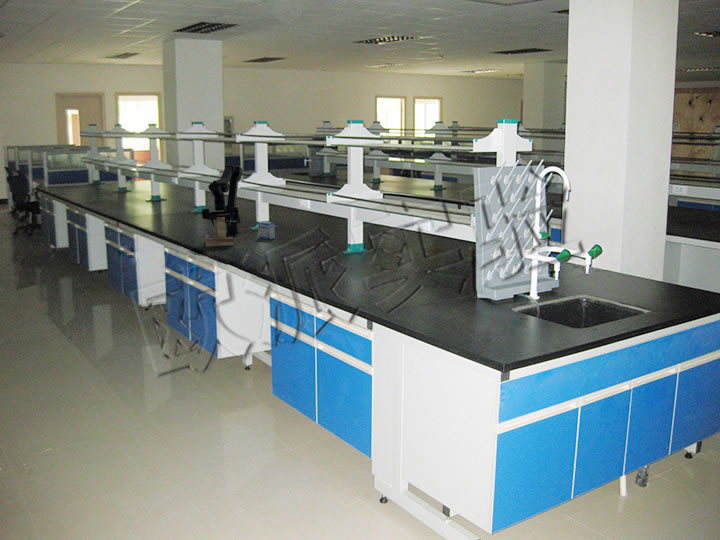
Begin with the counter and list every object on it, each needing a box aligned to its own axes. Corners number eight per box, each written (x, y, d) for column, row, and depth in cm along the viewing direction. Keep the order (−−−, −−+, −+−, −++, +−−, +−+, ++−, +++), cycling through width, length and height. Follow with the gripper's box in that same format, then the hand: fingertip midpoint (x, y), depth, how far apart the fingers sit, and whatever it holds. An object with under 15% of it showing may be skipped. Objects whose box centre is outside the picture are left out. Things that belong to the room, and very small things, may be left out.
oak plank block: (218, 240, 362) (216, 217, 359) (226, 240, 362) (224, 217, 360) (218, 241, 358) (216, 218, 355) (226, 241, 359) (224, 218, 356)
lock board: (206, 241, 367) (205, 235, 366) (232, 240, 370) (232, 233, 369) (205, 246, 354) (205, 239, 353) (233, 244, 356) (233, 238, 356)
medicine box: (258, 238, 373) (257, 222, 371) (263, 237, 376) (262, 221, 374) (270, 239, 369) (269, 223, 367) (275, 238, 373) (274, 222, 371)
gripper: (237, 210, 374) (239, 233, 366) (202, 212, 370) (203, 236, 362) (237, 197, 364) (239, 221, 356) (201, 199, 361) (202, 223, 353)
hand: (221, 226), depth 357 cm, fingers open, 7 cm apart
